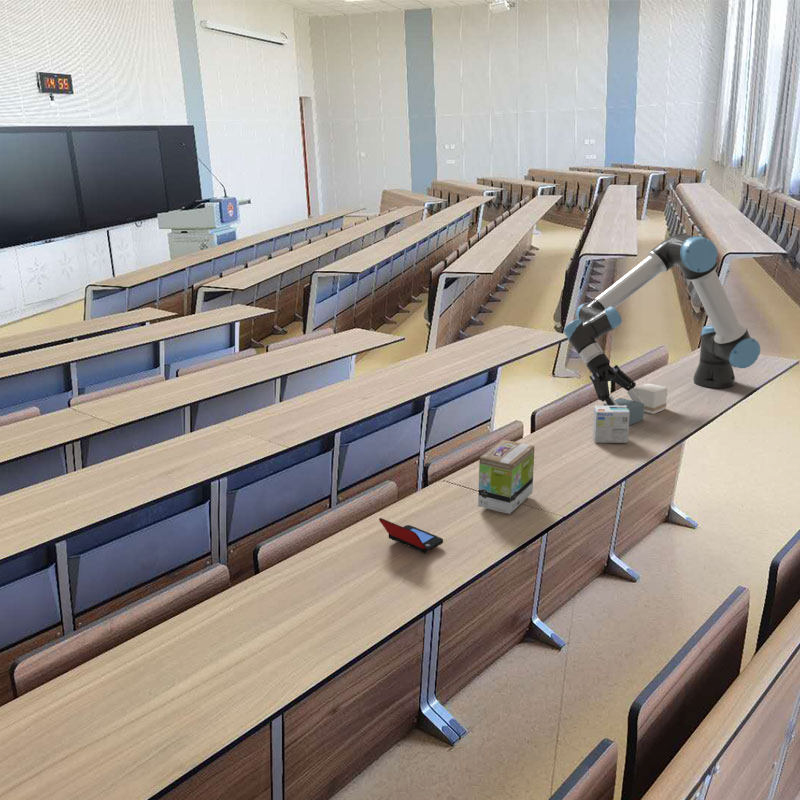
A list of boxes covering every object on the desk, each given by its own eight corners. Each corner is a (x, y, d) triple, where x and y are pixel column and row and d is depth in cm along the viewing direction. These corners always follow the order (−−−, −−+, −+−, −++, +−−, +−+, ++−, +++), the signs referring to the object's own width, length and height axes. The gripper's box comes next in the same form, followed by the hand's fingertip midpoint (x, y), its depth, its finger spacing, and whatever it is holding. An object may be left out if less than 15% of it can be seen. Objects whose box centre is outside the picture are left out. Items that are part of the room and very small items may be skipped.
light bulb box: (624, 435, 256) (627, 404, 253) (628, 443, 250) (630, 411, 246) (591, 435, 257) (593, 404, 254) (594, 443, 251) (596, 411, 247)
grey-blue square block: (619, 413, 277) (620, 397, 275) (643, 419, 270) (644, 403, 268) (602, 419, 271) (603, 404, 269) (626, 426, 264) (627, 410, 262)
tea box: (511, 515, 205) (512, 464, 200) (477, 507, 210) (477, 456, 206) (533, 493, 217) (535, 444, 212) (500, 485, 222) (501, 437, 217)
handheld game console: (445, 543, 193) (444, 516, 190) (416, 560, 185) (415, 533, 183) (408, 527, 201) (407, 501, 198) (378, 543, 193) (377, 516, 191)
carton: (646, 403, 285) (647, 383, 283) (666, 408, 279) (667, 387, 277) (633, 409, 281) (634, 387, 278) (653, 414, 275) (654, 392, 272)
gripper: (608, 358, 284) (643, 407, 277) (567, 371, 269) (602, 423, 263) (621, 346, 278) (657, 396, 271) (579, 359, 264) (616, 412, 257)
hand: (630, 409), depth 267 cm, fingers open, 12 cm apart
